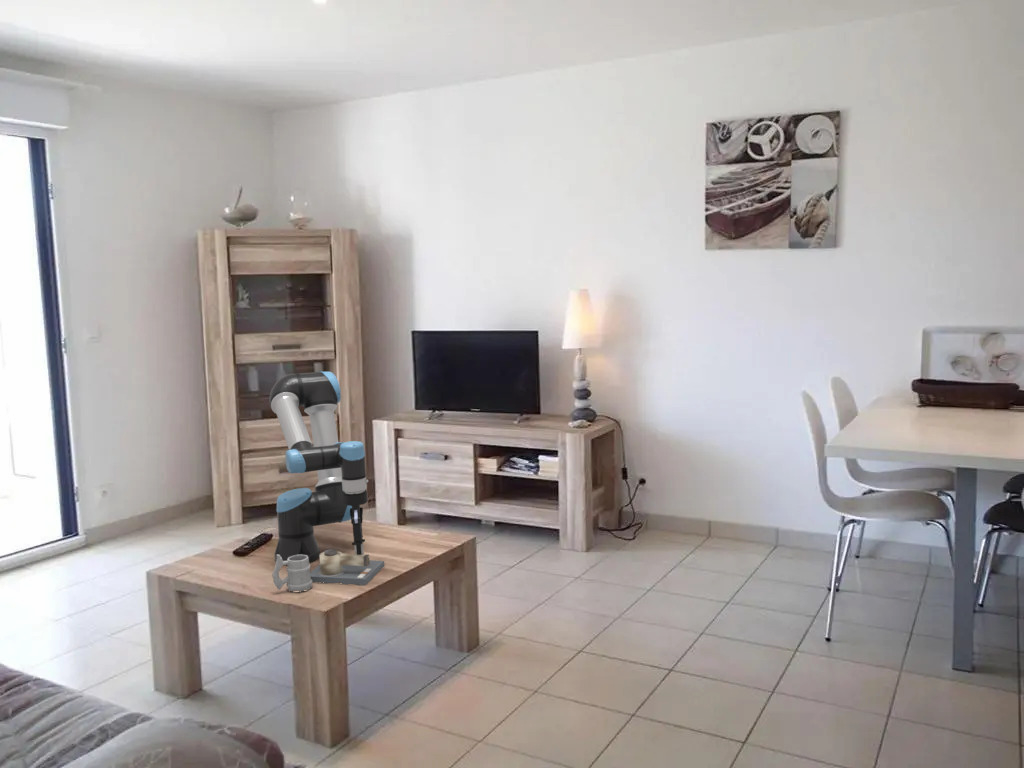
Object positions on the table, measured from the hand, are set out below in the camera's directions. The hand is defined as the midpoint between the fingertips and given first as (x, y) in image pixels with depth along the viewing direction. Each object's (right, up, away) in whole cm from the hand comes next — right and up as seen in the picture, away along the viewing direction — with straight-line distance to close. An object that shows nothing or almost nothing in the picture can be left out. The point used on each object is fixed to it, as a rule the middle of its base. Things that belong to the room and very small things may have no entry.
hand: (359, 563), depth 269 cm
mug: (-19, -7, -9) cm, 22 cm away
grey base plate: (-5, -4, +4) cm, 8 cm away
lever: (-5, -3, -1) cm, 5 cm away
